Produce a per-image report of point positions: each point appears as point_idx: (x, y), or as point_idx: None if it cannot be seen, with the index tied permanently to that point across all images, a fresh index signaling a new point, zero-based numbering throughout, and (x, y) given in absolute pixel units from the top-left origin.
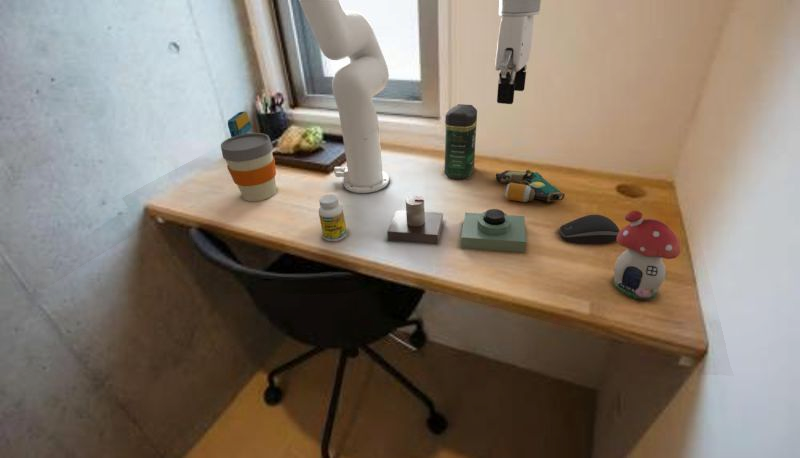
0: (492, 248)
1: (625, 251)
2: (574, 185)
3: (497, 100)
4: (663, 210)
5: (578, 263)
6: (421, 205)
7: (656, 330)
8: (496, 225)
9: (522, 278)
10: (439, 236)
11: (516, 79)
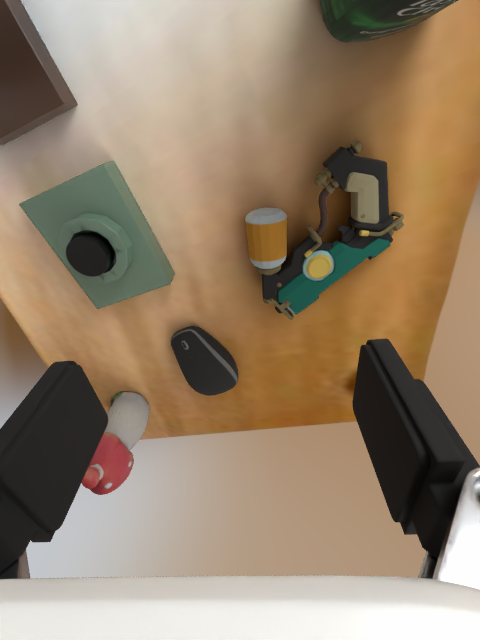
0: None
1: (115, 428)
2: (369, 311)
3: (50, 370)
4: (318, 414)
5: (134, 358)
6: None
7: None
8: None
9: (51, 312)
10: (25, 132)
11: (382, 436)
